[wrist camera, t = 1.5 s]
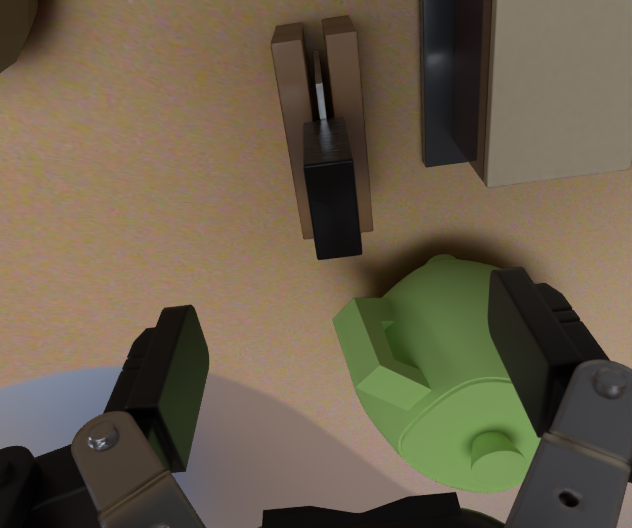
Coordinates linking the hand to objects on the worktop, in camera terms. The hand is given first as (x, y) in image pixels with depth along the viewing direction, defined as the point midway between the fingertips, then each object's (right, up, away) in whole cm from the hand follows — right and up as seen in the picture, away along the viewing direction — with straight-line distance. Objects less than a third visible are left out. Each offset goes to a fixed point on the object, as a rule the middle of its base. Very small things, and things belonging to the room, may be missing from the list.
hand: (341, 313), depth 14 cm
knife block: (0, +10, +15) cm, 18 cm away
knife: (0, +10, +15) cm, 18 cm away
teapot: (+9, -3, +24) cm, 25 cm away
